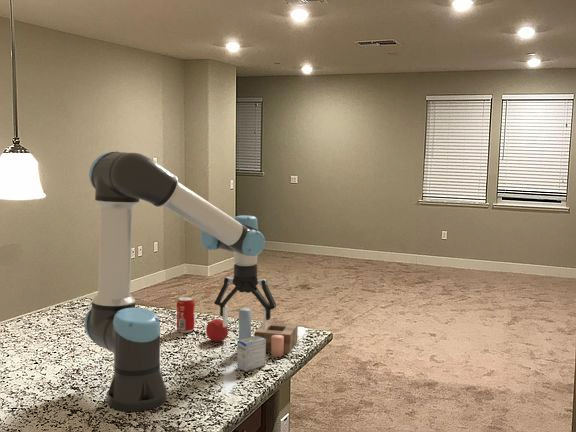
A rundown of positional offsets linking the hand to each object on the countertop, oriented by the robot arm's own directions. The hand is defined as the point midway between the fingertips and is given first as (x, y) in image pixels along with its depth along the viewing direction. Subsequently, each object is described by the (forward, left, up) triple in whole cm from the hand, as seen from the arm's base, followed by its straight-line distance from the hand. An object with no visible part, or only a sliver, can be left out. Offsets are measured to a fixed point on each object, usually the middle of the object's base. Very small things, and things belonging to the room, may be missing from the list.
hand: (245, 327), depth 204 cm
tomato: (+8, +12, -8) cm, 17 cm away
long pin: (0, 0, -8) cm, 8 cm away
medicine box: (-13, -6, -8) cm, 17 cm away
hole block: (+9, -8, -8) cm, 15 cm away
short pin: (0, -11, -8) cm, 14 cm away
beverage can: (+16, +27, -8) cm, 32 cm away
